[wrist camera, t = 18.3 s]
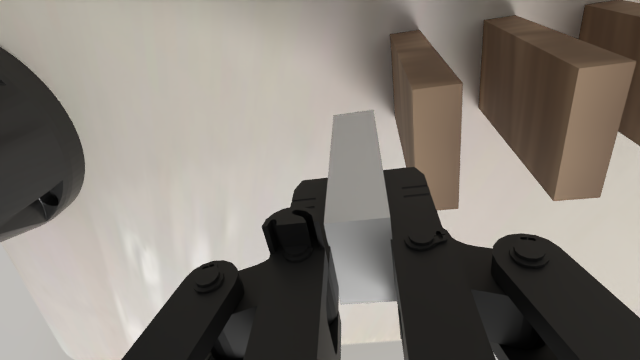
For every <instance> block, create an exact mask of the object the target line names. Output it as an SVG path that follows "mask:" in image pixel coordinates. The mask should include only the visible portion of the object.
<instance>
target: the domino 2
mask: <svg viewBox="0 0 640 360" xmlns="http://www.w3.org/2000/svg"><path fill="white" fill-rule="evenodd" d="M635 65H636V61H635V60H632V59H629V58H627V57H624V56H622V55H619V54H616V53H614V52H611V51H608V50H606V49H603V48H600V47H598V46H595V45H592V44H590V43H587V42H585V41H582V40H579V39H577V38H574V37H571V36H569V35H566V34H563V33H561V32H558V31H555V30H553V29H550V28H548V27H545V26H542V25H540V24H537V23H534V22H532V21H529V20H526V19H524V18H521V17H518V16H516V15H514V16H508V17H501V18H495V19H488V20H484V26H483V43H482V60H481V76H480V93H479V109H480V110H481V112H482V113H483V114H484V115H485V116H486V118H487V119H488V120H489V121H490V123H491V124H492V125H493V126H494V128H495V129H496V130H497V131H498V133H499V134H500V135H501V136H502V138H503V139H504V140H505V141H506V143H507V144H508V145H509V146H510V148H511V149H512V150H513V151H514V153H515V154H516V155H517V156H518V158H519V159H520V160H521V161H522V162H523V164H524V165H525V166H526V167H527V169H528V170H529V171H530V172H531V174H532V175H533V176H534V177H535V179H536V180H537V181H538V182H539V184H540V185H541V186H542V187H543V189H544V190H545V191H546V192H547V194H548V195H549V196H550V197H551V199H552V200H553V201H561V200H574V199H586V198H599V197H600V196H601V192H602V188H603V185H604V181H605V177H606V173H607V170H608V166H609V162H610V158H611V155H612V151H613V147H614V144H615V140H616V136H617V132H618V129H619V125H620V121H621V117H622V114H623V110H624V106H625V102H626V99H627V95H628V91H629V88H630V84H631V80H632V76H633V73H634V69H635Z"/></svg>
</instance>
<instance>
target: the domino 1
mask: <svg viewBox="0 0 640 360" xmlns="http://www.w3.org/2000/svg"><path fill="white" fill-rule="evenodd" d="M390 41H391V57H392V74H393V91H394V107H395V119H396V124H397V128H398V133H399V137H400V141H401V146H402V150H403V155H404V159H405V164H406V168H408V167H415V168H417V169H418V170H419V171H420V172H422V173H423V174H424V175H425V178H426V181H427V184H428V187H429V190H430V193H431V196H432V199H433V202H434V205H435V208H436V210H447V209H458V202H459V175H460V147H461V119H462V91H463V83H462V82H461V81H460V79H459V78H458V77H457V76H456V74H455V73H454V72H453V71H452V70H451V68H450V67H449V66H448V65H447V63H446V62H445V61H444V60H443V58H442V57H441V56H440V55H439V53H438V52H437V51H436V50H435V49H434V47H433V46H432V45H431V44H430V42H429V41H428V40H427V39H426V37H425V36H424V35H423V34H422V33H421V31H420V30H416V31H409V32H402V33H396V34H390Z"/></svg>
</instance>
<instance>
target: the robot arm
mask: <svg viewBox="0 0 640 360" xmlns="http://www.w3.org/2000/svg"><path fill="white" fill-rule="evenodd" d="M84 174H85V162H84V154H83V149H82V146H81V142H80V139H79V136H78V134H77V132H76V129H75V127H74V125H73V123H72V121H71V119H70V118H69V116H68V114H67V112H66V111H65V109H64V108H63V106H62V105H61V103H60V102H59V101H58V99H57V98H56V97H55V95H54V94H53V93H52V92H51V91H50V89H49V88H48V87H47V86H46V85H45V84H44V83H43V82H42V81H41V80H40V79H39V78H38V77H37V76H36V75H35V74H34V73H33V72H32V71H31V70H30V69H29V68H28V67H26V66H25V65H24V64H23V63H22V62H20V61H19V60H18V59H17V58H15V57H14V56H13V55H11V54H10V53H8V52H7V51H5V50H4V49H2V48H1V47H0V242H2V241H4V240H7V239H9V238H12V237H14V236H17V235H19V234H22V233H24V232H27V231H29V230H32V229H34V228H37V227H39V226H41V225H43V224H45V223H47V222H49V221H50V220H52V219H53V218H55V217H56V216H57V215H58V214H60V213H61V212H62V211H63V210H64V209H65V208H66V207H68V206H69V205H70V204H71V203H72V202H73V201H74V200H75V198H76V197H77V195H78V194H79V192H80V190H81V187H82V184H83V180H84ZM262 229H263V232H264V235H265V239H266V242H267V245H268V248H269V251H270V257H269V259H268V260H266V261H264V262H263V263H260V264H258V265H255V266H252V267H249V268H246V269H243V270H240V271H238V270H237V268H236V267H235V266H234V265H233V264H232V263H231V262H227V261H224V260H222V261H212V262H209V263H206V264H203V265H201V266H200V267H198V268H196V269H195V270H193V271H192V272H191V273H190V274H189V275H188V276H187V277H186V278H185V279H184V280H183V282H182V283H181V284H180V286H179V287H178V288H177V289H176V291H175V292H174V293H173V295H172V296H171V297H170V298H169V300H168V301H167V302H166V303H165V305H164V306H163V307H162V309H161V310H160V311H159V312H158V314H157V315H156V316H155V317H154V319H153V320H152V321H151V323H150V324H149V325H148V326H147V328H146V329H145V330H144V332H143V333H142V334H141V335H140V337H139V338H138V339H137V340H136V342H135V343H134V344H133V346H132V347H131V348H130V349H129V351H128V352H127V353H126V355H125V356H124V357H123V358H122V360H340V358H341V320H340V315H339V311H338V301H339V299H340V304H341V305H342V304H358V303H374V302H390V301H397V304H398V314H399V324H400V335H401V339H402V345H403V352H404V360H496V359H495V356H494V354H495V355H496V357H497V358H498V360H640V318H639V317H638V316H637V315H636V314H635V313H634V312H632V311H631V310H630V309H629V308H628V307H627V306H626V305H625V304H623V303H622V302H621V301H620V300H619V299H618V298H617V297H615V296H614V295H613V294H612V293H611V292H610V291H609V290H608V289H606V288H605V287H604V286H603V285H602V284H601V283H600V282H598V281H597V280H596V279H595V278H594V277H593V276H592V275H591V274H589V273H588V272H587V271H586V270H585V269H584V268H583V267H581V266H580V265H579V264H578V263H577V262H576V261H575V260H574V259H572V258H571V257H570V256H569V255H568V254H567V253H566V252H564V251H563V250H562V249H561V248H560V247H559V246H557V245H556V244H554V243H552V242H551V241H549V240H547V239H544V238H542V237H539V236H536V235H530V234H512V235H507V236H505V237H503V238H500V239H499V240H498V241H497V242H496V243H495V244H494V245H493V249H492V248H485V247H477V246H472V245H467V244H464V243H461V242H459V241H456V240H455V239H453V238H452V237H451V236H450V234H449V233H448V231H447V230H445V229H444V228H443V227H442V225H441V222H440V219H439V216H438V213H437V210H436V208H435V205H434V202H433V199H432V196H431V193H430V190H429V187H428V184H427V181H426V178H425V175H424V174H423V173H422V172H420V171H419V170H418V169H417V168H415V167H408V168H399V169H390V170H383V168H382V161H381V155H380V148H379V142H378V136H377V129H376V123H375V117H374V110H369V111H362V112H354V113H347V114H340V115H334V117H333V128H332V139H331V150H330V161H329V172H328V178H321V179H312V180H304V181H302V182H301V183H300V184H299V185H298V187H297V188H296V189H295V190H294V194H293V198H292V203H291V207H290V208H286V209H282V210H280V211H278V212H276V213H274V214H272V215H271V216H270V217H269V218H267V219H266V220H265V222H264V224H263V225H262ZM492 350H493V351H492ZM493 352H494V354H493Z"/></svg>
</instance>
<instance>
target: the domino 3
mask: <svg viewBox="0 0 640 360" xmlns="http://www.w3.org/2000/svg"><path fill="white" fill-rule="evenodd" d="M579 40H582V41H585V42H587V43H590V44H592V45H595V46H598V47H600V48H603V49H606V50H608V51H611V52H614V53H616V54H619V55H622V56H624V57H627V58H629V59H632V60H635V61H636V65H635V69H634V73H633V76H632V80H631V84H630V88H629V91H628V95H627V99H626V102H625V106H624V110H623V114H622V117H621V121H620V125H619V129H618V132H620V133H621V134H623V135H624V136H626V137H627V138H629V139H630V140H632V141H633V142H635V143H636V144H638V145H639V146H640V3H636V2H630V1H624V0H614V1H607V2H600V3H594V4H587V5H585V8H584V13H583V18H582V24H581V29H580V35H579Z"/></svg>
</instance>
